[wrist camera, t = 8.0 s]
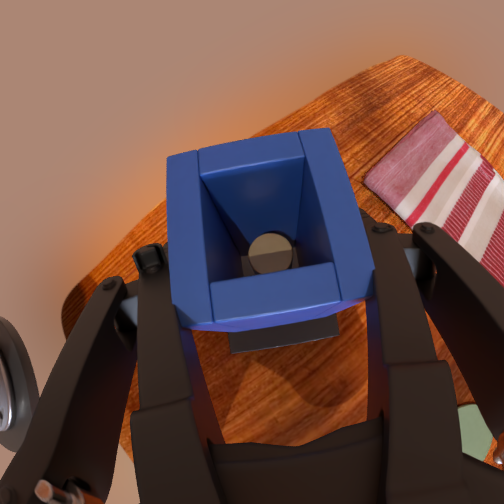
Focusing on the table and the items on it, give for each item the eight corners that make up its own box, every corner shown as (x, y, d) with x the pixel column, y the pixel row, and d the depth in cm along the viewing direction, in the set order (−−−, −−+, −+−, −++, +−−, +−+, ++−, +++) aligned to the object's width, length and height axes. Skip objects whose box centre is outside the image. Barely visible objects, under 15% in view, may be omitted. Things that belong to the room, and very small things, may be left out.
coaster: (410, 514, 15) (412, 516, 14) (396, 442, 19) (398, 444, 18) (492, 458, 15) (494, 460, 14) (486, 382, 18) (489, 383, 18)
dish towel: (425, 117, 28) (432, 104, 26) (536, 238, 22) (548, 231, 19) (358, 185, 26) (364, 171, 24) (496, 338, 20) (511, 337, 17)
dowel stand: (336, 335, 23) (388, 333, 11) (233, 352, 23) (184, 368, 11) (316, 237, 25) (340, 156, 13) (220, 254, 26) (170, 187, 14)
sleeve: (327, 316, 17) (381, 293, 7) (232, 332, 17) (173, 328, 8) (308, 227, 19) (329, 126, 9) (221, 243, 19) (166, 156, 9)
